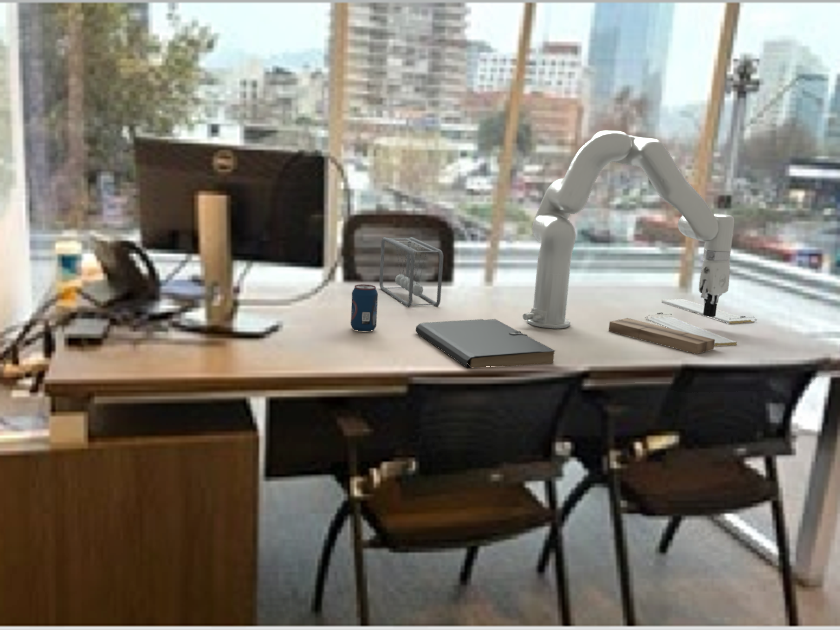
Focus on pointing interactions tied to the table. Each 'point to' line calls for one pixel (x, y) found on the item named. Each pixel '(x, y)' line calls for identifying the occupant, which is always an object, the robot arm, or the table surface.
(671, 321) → the baseboard
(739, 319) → the baseboard molding
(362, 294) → the soda can
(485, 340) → the dark grey book
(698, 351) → the plank row
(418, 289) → the newton's cradle
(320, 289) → the table surface
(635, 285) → the table surface
